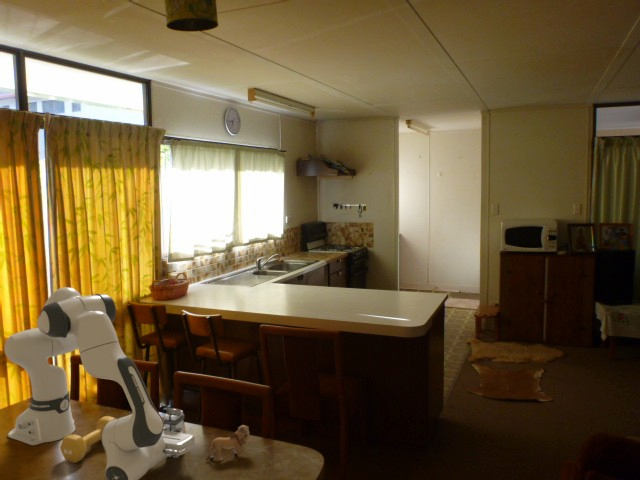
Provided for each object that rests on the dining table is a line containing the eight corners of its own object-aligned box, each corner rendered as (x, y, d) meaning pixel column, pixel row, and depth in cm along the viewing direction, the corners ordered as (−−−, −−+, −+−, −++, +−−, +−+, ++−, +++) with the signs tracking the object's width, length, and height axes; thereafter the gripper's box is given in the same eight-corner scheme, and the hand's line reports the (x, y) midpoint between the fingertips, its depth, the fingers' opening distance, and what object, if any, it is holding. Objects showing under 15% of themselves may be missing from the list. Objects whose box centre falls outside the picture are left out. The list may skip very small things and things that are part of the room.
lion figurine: (247, 447, 176) (246, 421, 175) (252, 454, 172) (251, 427, 171) (203, 458, 169) (202, 431, 168) (208, 466, 165) (207, 438, 164)
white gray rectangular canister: (165, 456, 171) (163, 411, 169) (174, 449, 176) (172, 405, 174) (177, 458, 169) (175, 413, 168) (186, 450, 174) (183, 406, 173)
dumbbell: (78, 466, 166) (76, 442, 165) (58, 460, 170) (56, 436, 169) (123, 439, 183) (122, 417, 182) (104, 435, 187) (102, 412, 186)
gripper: (180, 444, 156) (204, 423, 169) (122, 435, 162) (149, 416, 175) (181, 464, 157) (204, 442, 170) (123, 455, 163) (150, 434, 176)
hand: (176, 429), depth 173 cm, fingers closed on white gray rectangular canister, 4 cm apart
